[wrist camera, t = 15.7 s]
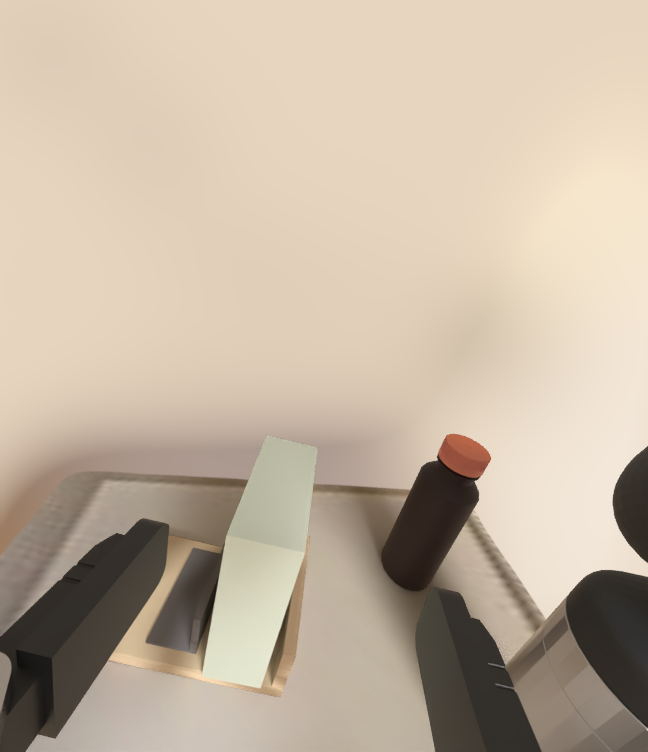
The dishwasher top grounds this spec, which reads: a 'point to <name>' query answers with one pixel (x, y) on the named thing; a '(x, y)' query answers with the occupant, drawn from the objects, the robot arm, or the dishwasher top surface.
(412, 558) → the bottle
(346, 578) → the dishwasher top surface
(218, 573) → the rack
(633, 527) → the robot arm
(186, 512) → the dishwasher top surface
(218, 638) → the book
